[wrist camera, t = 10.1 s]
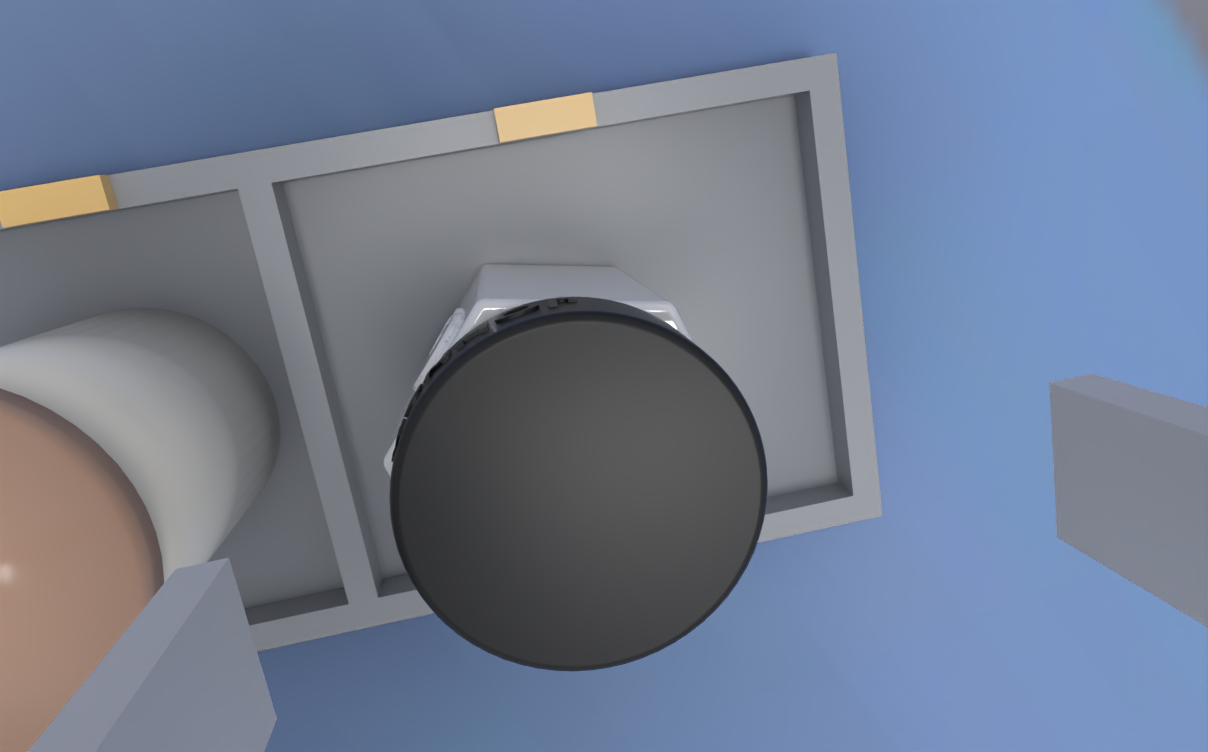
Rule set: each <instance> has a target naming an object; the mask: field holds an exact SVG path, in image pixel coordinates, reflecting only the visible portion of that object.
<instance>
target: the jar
mask: <svg viewBox="0 0 1208 752" xmlns="http://www.w3.org/2000/svg"><path fill="white" fill-rule="evenodd" d="M383 464H384V467H385V470H386V471H387V473H388V474H389V476H390V477H391V478H390V493H389V503H390V517H391V524H392V530H393V535H394V539H395V542H396V546H397V550H398V552H399V555H400V558H401V560H402V563H403V566H404V568H405V570H406V572H407V574H408V576H409V578H410V580H411V582H412V583H413V585H414V587H415V588H416V590H417V591H418V593H419V594H420V596H421V597H422V599H423V600H424V601H425V602H426V604H427V605H428V606H429V607H430V609H431V610H432V611H433V612H434V613H435V614H436V615H437V616H438V617H439V618H440V619H441V620H442V621H443V622H444V623H445V624H446V625H447V626H449V627H450V628H451V629H452V630H453V631H455V632H456V633H457V634H458V635H460V636H461V637H463V638H464V639H466V640H467V641H469V642H470V643H472V644H473V645H475V646H477V647H479V648H481V649H482V650H484V651H486V652H488V653H490V654H493V655H495V656H497V657H500V658H502V659H504V660H508V661H511V662H514V663H517V664H520V665H525V666H529V667H534V668H539V669H547V670H555V671H586V670H596V669H603V668H609V667H613V666H618V665H622V664H626V663H629V662H632V661H635V660H638V659H641V658H644V657H646V656H648V655H651V654H653V653H655V652H658V651H660V650H662V649H664V648H665V647H667V646H669V645H671V644H673V643H675V642H676V641H678V640H679V639H681V638H682V637H684V636H685V635H687V634H688V633H690V632H691V631H692V630H693V629H695V628H696V627H697V626H699V625H700V624H701V623H702V622H703V621H705V620H706V619H707V618H708V617H709V616H710V615H711V614H712V613H713V612H714V611H715V610H716V609H717V608H718V607H719V606H720V604H721V603H722V602H723V601H724V600H725V599H726V598H727V596H728V595H729V594H730V592H731V591H732V590H733V588H734V587H735V586H736V584H737V583H738V581H739V579H740V578H741V576H742V574H743V573H744V571H745V569H746V568H747V566H748V564H749V561H750V559H751V557H752V555H753V553H754V551H755V548H756V545H757V542H758V540H759V537H760V533H761V530H762V526H763V522H764V517H765V511H766V505H767V491H768V478H767V464H766V457H765V451H764V447H763V443H762V439H761V435H760V432H759V429H758V426H757V423H756V421H755V418H754V416H753V414H752V411H751V409H750V407H749V405H748V404H747V402H746V400H745V398H744V396H743V395H742V393H741V392H740V390H739V388H738V387H737V386H736V384H735V383H734V382H733V380H732V379H731V378H730V376H729V375H728V374H727V373H726V372H725V371H724V369H723V368H722V367H721V366H720V365H719V364H718V363H717V362H716V361H715V360H714V359H713V358H712V357H710V356H709V355H708V354H707V353H706V352H705V351H703V350H702V349H701V348H700V347H698V346H697V345H696V344H695V343H693V341H692V339H691V337H690V335H689V333H688V331H687V329H686V327H685V325H684V323H683V321H682V319H681V317H680V315H679V313H678V312H677V310H676V308H675V306H674V305H673V304H672V303H671V302H669V301H668V300H666V299H665V298H663V297H661V296H660V295H658V294H657V293H655V292H654V291H652V290H651V289H649V288H648V287H646V286H645V285H643V284H642V283H640V282H639V281H637V280H636V279H634V278H633V277H631V276H630V275H628V274H626V273H625V272H623V271H622V270H620V269H619V268H617V267H609V266H558V265H506V264H486V265H484V266H482V267H481V269H480V270H479V272H478V274H477V275H476V277H475V279H474V280H473V282H472V284H471V286H470V287H469V289H468V291H467V292H466V294H465V296H464V297H463V299H462V301H461V303H460V304H459V306H458V308H457V309H456V310H455V311H454V314H453V315H452V316H451V317H450V318H449V319H448V320H447V322H446V324H445V325H444V327H443V329H442V331H441V332H440V334H439V336H438V338H437V340H436V342H435V344H434V345H433V347H432V349H431V351H430V353H429V355H428V357H427V359H426V361H425V362H424V364H423V366H422V368H421V369H420V371H419V374H418V375H417V377H416V379H415V381H414V383H413V388H412V391H411V393H410V396H409V398H408V401H407V403H406V406H405V408H404V410H403V413H402V415H401V418H400V420H399V423H398V425H397V428H396V430H395V433H394V435H393V437H392V440H391V442H390V445H389V447H388V450H387V452H386V455H385V457H384V460H383Z"/></svg>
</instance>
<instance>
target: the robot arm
mask: <svg viewBox="0 0 1208 752" xmlns="http://www.w3.org/2000/svg"><path fill="white" fill-rule="evenodd" d="M1050 402H1051V422H1052V442H1053V462H1054V482H1055V502H1056V522H1057V538H1059V539H1061V540H1062V541H1064V542H1066V543H1067V544H1069V545H1071V546H1073V547H1074V548H1076V549H1078V550H1079V551H1081V552H1083V553H1084V554H1086V555H1088V556H1089V557H1091V558H1093V559H1094V560H1096V561H1098V562H1099V563H1101V564H1103V565H1104V566H1106V567H1108V568H1109V569H1111V570H1113V571H1114V572H1116V573H1118V574H1119V575H1121V576H1123V577H1124V578H1126V579H1128V580H1129V581H1131V582H1133V583H1134V584H1136V585H1138V586H1139V587H1141V588H1143V589H1144V590H1146V591H1148V592H1149V593H1151V594H1153V595H1155V596H1156V597H1158V598H1160V599H1161V600H1163V601H1165V602H1166V603H1168V604H1170V605H1171V606H1173V607H1175V608H1176V609H1178V610H1180V611H1181V612H1183V613H1185V614H1186V615H1188V616H1190V617H1191V618H1193V619H1195V620H1196V621H1198V622H1200V623H1201V624H1203V625H1205V626H1206V627H1208V408H1207V407H1204V406H1201V405H1197V404H1194V403H1191V402H1187V401H1184V400H1180V399H1177V398H1174V397H1170V396H1167V395H1163V394H1160V393H1157V392H1153V391H1150V390H1147V389H1143V388H1140V387H1136V386H1133V385H1130V384H1126V383H1123V382H1119V381H1116V380H1113V379H1109V378H1106V377H1102V376H1099V375H1096V374H1088V375H1084V376H1079V377H1074V378H1070V379H1065V380H1060V381H1056V382H1051V383H1050ZM276 720H277V717H276V714H275V710H274V707H273V704H272V700H271V697H270V694H269V690H268V687H267V684H266V680H265V677H264V674H263V670H262V667H261V664H260V660H259V657H258V653H257V650H256V647H255V643H254V640H253V637H252V633H251V630H250V627H249V623H248V620H247V617H246V613H245V610H244V606H243V603H242V600H241V596H240V593H239V590H238V586H237V583H236V580H235V576H234V573H233V570H232V566H231V563H230V559H229V558H225V559H220V560H215V561H211V562H206V563H201V564H197V565H192V566H187V567H182V568H178V569H175V570H174V572H173V573H172V574H171V575H170V577H169V578H168V579H167V580H166V582H165V583H164V584H163V585H162V587H161V588H160V589H159V590H158V591H157V593H156V594H155V595H154V596H153V598H152V599H151V600H150V601H149V603H148V604H147V605H146V606H145V607H144V609H143V610H142V611H141V612H140V614H139V615H138V616H137V617H136V619H135V620H134V621H133V622H132V624H131V625H130V626H129V627H128V628H127V630H126V631H125V632H124V633H123V635H122V636H121V637H120V638H119V640H118V641H117V642H116V643H115V644H114V646H113V647H112V648H111V649H110V651H109V652H108V653H107V654H106V656H105V657H104V658H103V659H102V661H101V662H100V663H99V664H98V665H97V667H96V668H95V669H94V670H93V672H92V673H91V674H90V675H89V677H88V678H87V679H86V680H85V681H84V683H83V684H82V685H81V686H80V688H79V689H78V690H77V691H76V693H75V694H74V695H73V696H72V698H71V699H70V700H69V701H68V702H67V704H66V705H65V706H64V707H63V709H62V710H61V711H60V712H59V714H58V715H57V716H56V717H55V718H54V720H53V721H52V722H51V723H50V725H49V726H48V727H47V728H46V730H45V731H44V732H43V733H42V735H41V736H40V737H39V738H38V739H37V741H36V742H35V743H34V744H33V746H32V747H31V748H30V749H29V751H28V752H264V751H265V749H266V746H267V744H268V741H269V739H270V736H271V733H272V731H273V728H274V726H275V723H276Z"/></svg>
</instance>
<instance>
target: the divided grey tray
mask: <svg viewBox="0 0 1208 752" xmlns="http://www.w3.org/2000/svg"><path fill="white" fill-rule="evenodd" d="M486 264H506V265H558V266H609V267H617V268H619V269H620V270H622V271H623V272H625V273H626V274H628V275H630V276H631V277H633V278H634V279H636V280H637V281H639V282H640V283H642V284H643V285H645V286H646V287H648V288H649V289H651V290H652V291H654V292H655V293H657V294H658V295H660V296H661V297H663V298H665V299H666V300H668V301H669V302H671V303H672V304H673V305H674V306H675V308H676V310H677V312H678V313H679V315H680V317H681V319H682V321H683V323H684V325H685V327H686V329H687V331H688V333H689V335H690V337H691V339H692V341H693V343H695V344H696V345H697V346H698V347H700V348H701V349H702V350H703V351H705V352H706V353H707V354H708V355H709V356H710V357H712V358H713V359H714V360H715V361H716V362H717V363H718V364H719V365H720V366H721V367H722V368H723V369H724V371H725V372H726V373H727V374H728V375H729V376H730V378H731V379H732V380H733V382H734V383H735V384H736V386H737V387H738V388H739V390H740V392H741V393H742V395H743V396H744V398H745V400H746V402H747V404H748V405H749V407H750V409H751V411H752V414H753V416H754V418H755V421H756V423H757V426H758V429H759V432H760V435H761V439H762V443H763V447H764V451H765V457H766V464H767V478H768V491H767V505H766V511H765V517H764V522H763V526H762V530H761V533H760V537H759V540H758V542H757V543H760V542H764V541H769V540H773V539H778V538H783V537H787V536H792V535H796V534H801V533H806V532H810V531H815V530H819V529H824V528H829V527H833V526H838V525H843V524H847V523H852V522H856V521H861V520H866V519H870V518H875V517H879V516H882V506H881V495H880V485H879V475H878V465H877V455H876V445H875V435H874V425H873V415H872V405H871V395H870V385H869V375H868V365H867V355H866V345H865V335H864V325H863V314H862V304H861V294H860V284H859V274H858V264H857V254H856V244H855V234H854V224H853V214H852V204H851V194H850V184H849V174H848V164H847V154H846V144H845V133H844V123H843V113H842V103H841V93H840V83H839V73H838V63H837V53H831V54H825V55H819V56H813V57H807V58H801V59H795V60H789V61H783V62H777V63H771V64H765V65H759V66H753V67H747V68H742V69H736V70H730V71H724V72H718V73H712V74H706V75H700V76H694V77H688V78H682V79H676V80H670V81H664V82H658V83H652V84H646V85H640V86H635V87H629V88H623V89H617V90H611V91H605V92H599V93H593V94H592V92H589V93H583V94H577V95H571V96H565V97H559V98H553V99H547V100H541V101H535V102H529V103H523V104H517V105H511V106H505V107H499V108H494V110H492V111H486V112H480V113H474V114H468V115H462V116H456V117H450V118H444V119H438V120H432V121H426V122H421V123H415V124H409V125H403V126H397V127H391V128H385V129H379V130H373V131H367V132H361V133H355V134H349V135H343V136H337V137H331V138H325V139H319V140H314V141H308V142H302V143H296V144H290V145H284V146H278V147H272V148H266V149H260V150H254V151H248V152H242V153H236V154H230V155H224V156H218V157H212V158H207V159H201V160H195V161H189V162H183V163H177V164H171V165H165V166H159V167H153V168H147V169H141V170H135V171H129V172H123V173H117V174H111V175H95V176H89V177H83V178H77V179H71V180H65V181H59V182H53V183H47V184H41V185H35V186H29V187H23V188H17V189H11V190H5V191H0V347H2V346H5V345H8V344H11V343H14V342H17V341H20V340H23V339H26V338H29V337H32V336H35V335H39V334H42V333H45V332H48V331H51V330H54V329H57V328H60V327H63V326H66V325H69V324H72V323H76V322H79V321H82V320H85V319H88V318H91V317H94V316H97V315H100V314H104V313H108V312H112V311H116V310H123V309H131V308H154V309H161V310H169V311H173V312H177V313H181V314H185V315H188V316H190V317H193V318H196V319H198V320H201V321H203V322H205V323H207V324H209V325H211V326H213V327H214V328H216V329H218V330H219V331H221V332H222V333H224V334H225V335H227V336H228V337H230V338H231V339H232V340H233V341H234V342H236V343H237V344H238V345H239V346H240V347H241V348H242V349H243V350H244V351H245V352H246V353H247V354H248V355H249V356H250V357H251V359H252V360H253V361H254V362H255V363H256V365H257V366H258V368H259V369H260V371H261V372H262V374H263V375H264V377H265V379H266V381H267V383H268V385H269V387H270V389H271V391H272V394H273V397H274V400H275V403H276V407H277V412H278V417H279V429H280V437H279V449H278V453H277V458H276V462H275V465H274V468H273V470H272V473H271V475H270V477H269V479H268V481H267V483H266V485H265V486H264V488H263V490H262V491H261V492H260V494H259V495H258V496H257V498H256V499H255V500H254V502H253V503H252V504H251V505H250V507H249V508H248V509H247V511H246V512H245V513H244V515H243V516H242V517H241V519H240V520H239V521H238V523H237V524H236V525H235V526H234V528H233V529H232V530H231V532H230V533H229V534H228V536H227V537H226V538H225V540H224V541H223V542H222V544H221V545H220V546H219V547H218V549H217V550H216V551H215V553H214V554H213V555H212V557H211V558H210V559H209V561H208V562H211V561H215V560H220V559H225V558H229V559H230V563H231V566H232V570H233V573H234V576H235V580H236V583H237V586H238V590H239V593H240V596H241V600H242V603H243V606H244V610H245V613H246V617H247V620H248V623H249V627H250V630H251V633H252V637H253V640H254V643H255V647H256V650H257V652H258V651H263V650H267V649H272V648H277V647H281V646H286V645H290V644H295V643H300V642H304V641H309V640H313V639H318V638H323V637H327V636H332V635H336V634H341V633H346V632H350V631H355V630H359V629H364V628H369V627H373V626H378V625H382V624H387V623H392V622H396V621H401V620H405V619H410V618H415V617H419V616H424V615H428V614H433V613H434V612H433V611H432V610H431V609H430V607H429V606H428V605H427V604H426V602H425V601H424V600H423V599H422V597H421V596H420V594H419V593H418V591H417V590H416V588H415V587H414V585H413V583H412V582H411V580H410V578H409V576H408V574H407V572H406V570H405V568H404V566H403V563H402V560H401V558H400V555H399V552H398V550H397V546H396V542H395V539H394V535H393V530H392V524H391V517H390V503H389V493H390V478H391V477H390V476H389V474H388V473H387V471H386V470H385V467H384V464H383V460H384V457H385V455H386V452H387V450H388V447H389V445H390V442H391V440H392V437H393V435H394V433H395V430H396V428H397V425H398V423H399V420H400V418H401V415H402V413H403V410H404V408H405V406H406V403H407V401H408V398H409V396H410V393H411V391H412V388H413V383H414V381H415V379H416V377H417V375H418V374H419V371H420V369H421V368H422V366H423V364H424V362H425V361H426V359H427V357H428V355H429V353H430V351H431V349H432V347H433V345H434V344H435V342H436V340H437V338H438V336H439V334H440V332H441V331H442V329H443V327H444V325H445V324H446V322H447V320H448V319H449V318H450V317H451V316H452V315H453V314H454V311H455V310H456V309H457V308H458V306H459V304H460V303H461V301H462V299H463V297H464V296H465V294H466V292H467V291H468V289H469V287H470V286H471V284H472V282H473V280H474V279H475V277H476V275H477V274H478V272H479V270H480V269H481V267H482V266H484V265H486Z"/></svg>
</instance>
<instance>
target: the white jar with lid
mask: <svg viewBox="0 0 1208 752" xmlns="http://www.w3.org/2000/svg"><path fill="white" fill-rule="evenodd" d="M279 437H280V429H279V417H278V412H277V407H276V403H275V400H274V397H273V394H272V391H271V389H270V387H269V385H268V383H267V381H266V379H265V377H264V375H263V374H262V372H261V371H260V369H259V368H258V366H257V365H256V363H255V362H254V361H253V360H252V359H251V357H250V356H249V355H248V354H247V353H246V352H245V351H244V350H243V349H242V348H241V347H240V346H239V345H238V344H237V343H236V342H234V341H233V340H232V339H231V338H230V337H228V336H227V335H225V334H224V333H222V332H221V331H219V330H218V329H216V328H214V327H213V326H211V325H209V324H207V323H205V322H203V321H201V320H198V319H196V318H193V317H190V316H188V315H185V314H181V313H177V312H173V311H169V310H161V309H154V308H131V309H123V310H116V311H112V312H108V313H104V314H100V315H97V316H94V317H91V318H88V319H85V320H82V321H79V322H76V323H72V324H69V325H66V326H63V327H60V328H57V329H54V330H51V331H48V332H45V333H42V334H39V335H35V336H32V337H29V338H26V339H23V340H20V341H17V342H14V343H11V344H8V345H5V346H2V347H0V752H28V751H29V749H30V748H31V747H32V746H33V744H34V743H35V742H36V741H37V739H38V738H39V737H40V736H41V735H42V733H43V732H44V731H45V730H46V728H47V727H48V726H49V725H50V723H51V722H52V721H53V720H54V718H55V717H56V716H57V715H58V714H59V712H60V711H61V710H62V709H63V707H64V706H65V705H66V704H67V702H68V701H69V700H70V699H71V698H72V696H73V695H74V694H75V693H76V691H77V690H78V689H79V688H80V686H81V685H82V684H83V683H84V681H85V680H86V679H87V678H88V677H89V675H90V674H91V673H92V672H93V670H94V669H95V668H96V667H97V665H98V664H99V663H100V662H101V661H102V659H103V658H104V657H105V656H106V654H107V653H108V652H109V651H110V649H111V648H112V647H113V646H114V644H115V643H116V642H117V641H118V640H119V638H120V637H121V636H122V635H123V633H124V632H125V631H126V630H127V628H128V627H129V626H130V625H131V624H132V622H133V621H134V620H135V619H136V617H137V616H138V615H139V614H140V612H141V611H142V610H143V609H144V607H145V606H146V605H147V604H148V603H149V601H150V600H151V599H152V598H153V596H154V595H155V594H156V593H157V591H158V590H159V589H160V588H161V587H162V585H163V584H164V583H165V582H166V580H167V579H168V578H169V577H170V575H171V574H172V573H173V572H174V570H175V569H178V568H182V567H187V566H192V565H197V564H201V563H206V562H208V561H209V559H210V558H211V557H212V555H213V554H214V553H215V551H216V550H217V549H218V547H219V546H220V545H221V544H222V542H223V541H224V540H225V538H226V537H227V536H228V534H229V533H230V532H231V530H232V529H233V528H234V526H235V525H236V524H237V523H238V521H239V520H240V519H241V517H242V516H243V515H244V513H245V512H246V511H247V509H248V508H249V507H250V505H251V504H252V503H253V502H254V500H255V499H256V498H257V496H258V495H259V494H260V492H261V491H262V490H263V488H264V486H265V485H266V483H267V481H268V479H269V477H270V475H271V473H272V470H273V468H274V465H275V462H276V458H277V453H278V449H279Z"/></svg>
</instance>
